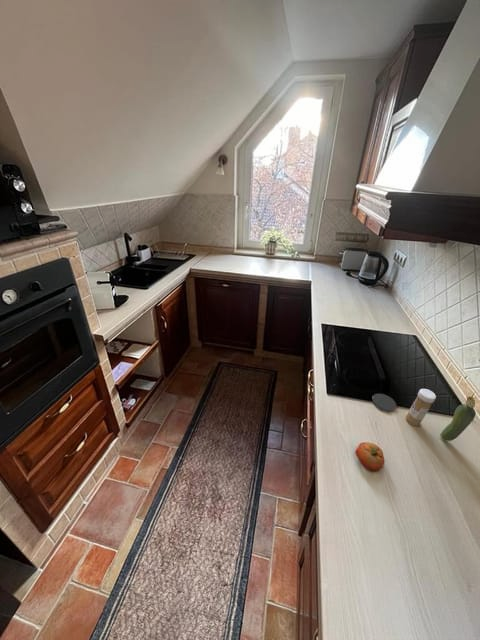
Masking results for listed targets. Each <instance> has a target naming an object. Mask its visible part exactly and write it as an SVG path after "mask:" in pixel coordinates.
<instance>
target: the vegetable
mask: <svg viewBox="0 0 480 640" xmlns="http://www.w3.org/2000/svg"><path fill="white" fill-rule="evenodd" d="M475 407H476V400H475V397H473V396H472V395H469V396H467V397H466V401H465V403H462V404H459V405H457V407H456V408H455V410H454V413H453V417H452V420H451V421H450V423H449V424H448V425H446V427H444V429H443V430H442V431H441V432H440V434H439V435H440V438H441V440H442V441H444V442H445V441H449V442H450V441H453V440H455V439H457V438H458V437H459V436H460V435H461V434H462V433H463V432H465V430H467V428H468V427H469V426H470V425H471V423H472V422H473V421H474V419H475V417H476V413H477V412H476V410H475Z"/></svg>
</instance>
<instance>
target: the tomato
mask: <svg viewBox="0 0 480 640" xmlns="http://www.w3.org/2000/svg"><path fill="white" fill-rule="evenodd" d="M354 453H355V455H356V457H357V459H358V460H359V463H361V465H362V466H363V467H364V468H366V469H367V470H368V471H370V472H371V473H372V472H373V473H374V472H378V471H380V470H381V469H382V468H383V466H384V465H385V461H386V460H385V457H384V452H383V450H382V449H381V448H380V446H379V445H376V444H375V443H372V442H360V443H359V444H358V446H357V447H356V450H355V451H354Z"/></svg>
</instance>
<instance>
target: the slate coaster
mask: <svg viewBox="0 0 480 640" xmlns="http://www.w3.org/2000/svg"><path fill="white" fill-rule="evenodd" d="M371 402H372V404H373V405H374V407H376V408H377V409H378V410H381V411H382V412H387V413H391V412H394V411H395V410H396V409H397V403H396V401H395V400H394V399H393V398H392V397H391V396H389V395H386V394H384V393H375V394H373V395H372V397H371Z"/></svg>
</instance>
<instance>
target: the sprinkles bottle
mask: <svg viewBox="0 0 480 640" xmlns="http://www.w3.org/2000/svg"><path fill="white" fill-rule="evenodd" d="M436 399H437V395H436V394H435V392H434V391H432V390H430V389H427V388H420V389H419V390H418V393H417V396H416V398H415V400H414V401H413V403H412V405H411V406H410V408H409V411H408V412H407V414H406V416H405V421H406V422H407V423H408V424H410V425H412V426H415V427H417V426H418V427H419V426H420V425H421V423H422V421H423V420H424V418H425V417H426V415H427V413H428V411H429V410H430V408H431V406H432V404H433V403H435V401H436Z"/></svg>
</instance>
